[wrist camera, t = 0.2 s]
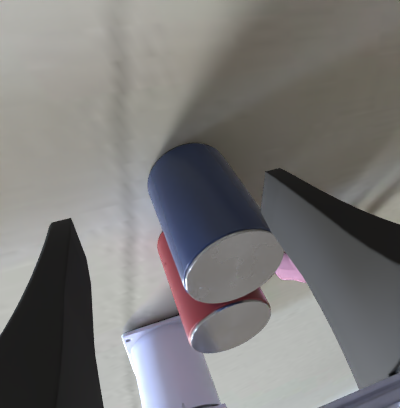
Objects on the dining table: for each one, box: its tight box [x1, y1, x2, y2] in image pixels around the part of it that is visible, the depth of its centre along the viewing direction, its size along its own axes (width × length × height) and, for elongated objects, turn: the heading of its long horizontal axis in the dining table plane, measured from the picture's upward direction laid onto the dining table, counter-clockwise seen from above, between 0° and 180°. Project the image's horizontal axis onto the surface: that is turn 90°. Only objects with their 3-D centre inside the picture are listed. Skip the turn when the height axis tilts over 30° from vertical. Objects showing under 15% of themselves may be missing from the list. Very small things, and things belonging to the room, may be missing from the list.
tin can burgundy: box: [157, 232, 271, 353], centre depth 26 cm, size 6×6×9 cm
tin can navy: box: [148, 143, 284, 303], centre depth 22 cm, size 6×6×9 cm
